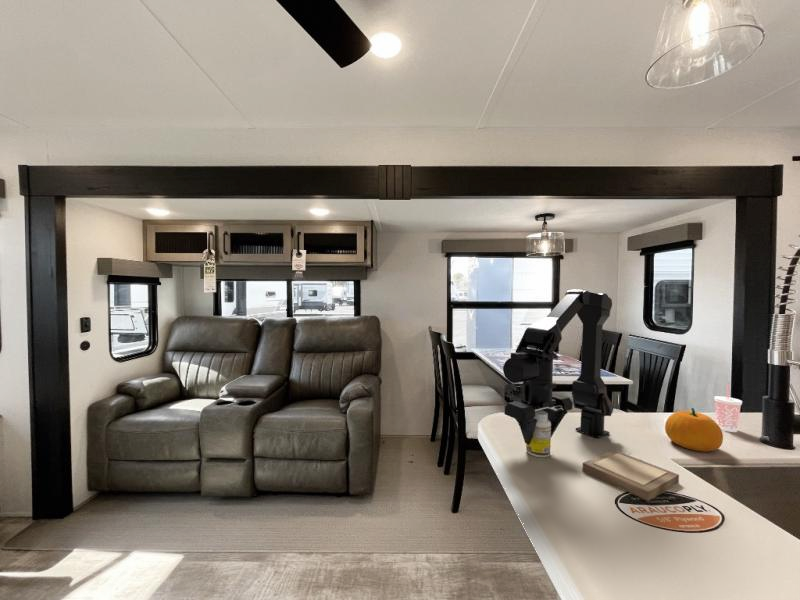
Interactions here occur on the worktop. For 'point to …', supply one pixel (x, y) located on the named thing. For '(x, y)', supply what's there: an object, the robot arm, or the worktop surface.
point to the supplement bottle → (540, 436)
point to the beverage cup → (727, 412)
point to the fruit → (694, 431)
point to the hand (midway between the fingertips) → (538, 440)
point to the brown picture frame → (631, 474)
